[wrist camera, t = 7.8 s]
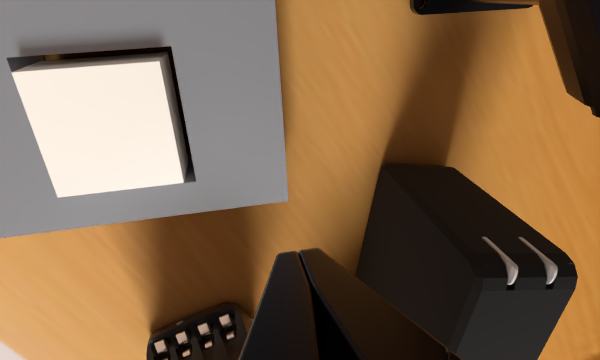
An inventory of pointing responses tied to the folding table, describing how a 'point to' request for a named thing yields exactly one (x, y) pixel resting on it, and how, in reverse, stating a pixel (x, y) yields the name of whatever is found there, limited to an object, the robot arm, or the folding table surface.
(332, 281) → the robot arm
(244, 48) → the key panel
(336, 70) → the folding table surface
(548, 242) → the electronic device
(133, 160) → the ivory key
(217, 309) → the battery charger
